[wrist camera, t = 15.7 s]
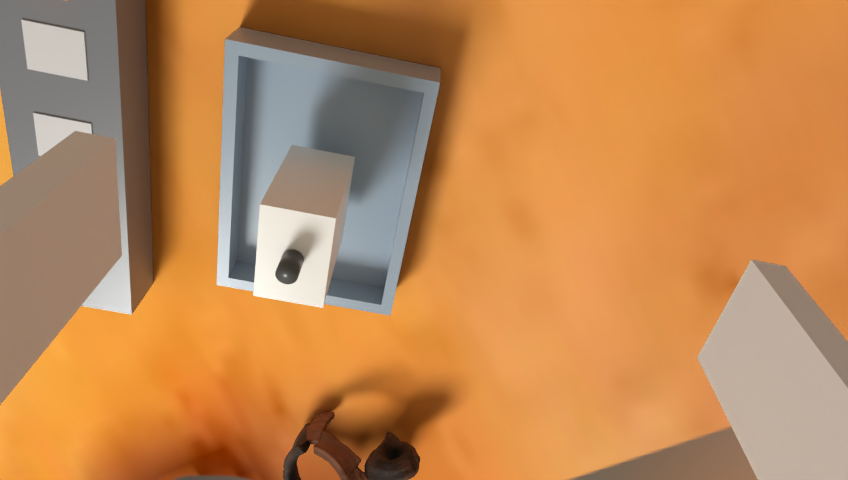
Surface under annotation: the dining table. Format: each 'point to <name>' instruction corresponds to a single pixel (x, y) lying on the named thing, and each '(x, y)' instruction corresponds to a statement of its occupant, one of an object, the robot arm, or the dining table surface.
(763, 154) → the dining table surface
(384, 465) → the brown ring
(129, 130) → the power strip
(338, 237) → the charger
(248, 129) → the tray
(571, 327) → the dining table surface
